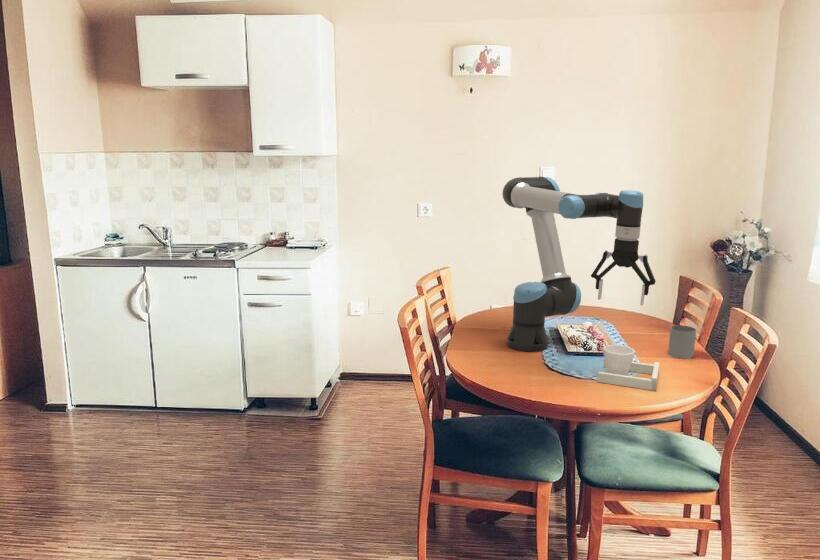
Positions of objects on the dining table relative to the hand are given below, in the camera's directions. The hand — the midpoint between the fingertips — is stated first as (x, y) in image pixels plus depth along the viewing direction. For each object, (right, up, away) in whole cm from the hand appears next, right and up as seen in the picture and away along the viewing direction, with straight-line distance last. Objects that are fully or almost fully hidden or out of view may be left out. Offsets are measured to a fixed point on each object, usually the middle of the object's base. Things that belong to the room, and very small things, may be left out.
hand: (620, 301), depth 214 cm
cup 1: (-2, -25, -3) cm, 25 cm away
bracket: (+1, -25, -5) cm, 25 cm away
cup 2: (+28, -20, +18) cm, 39 cm away
